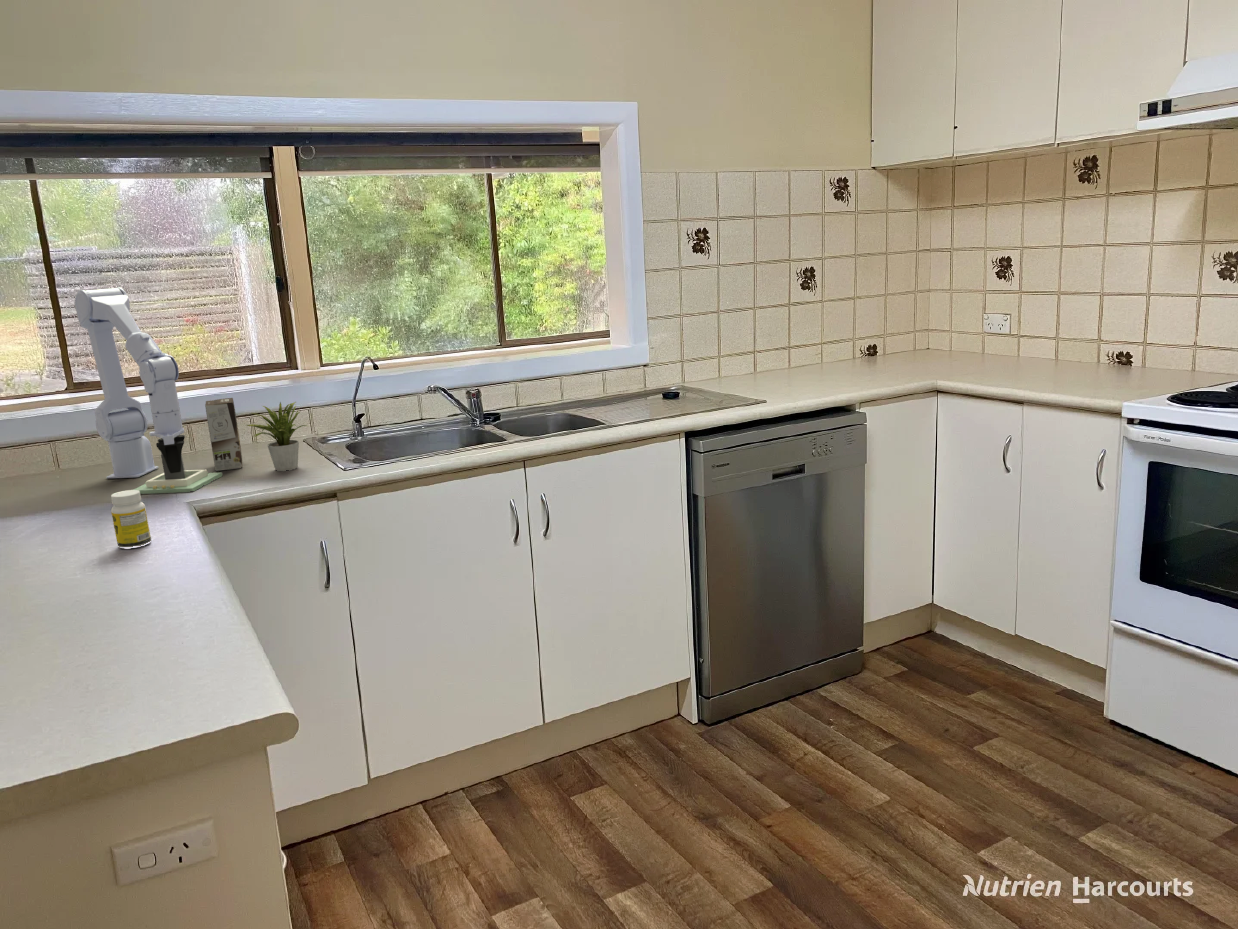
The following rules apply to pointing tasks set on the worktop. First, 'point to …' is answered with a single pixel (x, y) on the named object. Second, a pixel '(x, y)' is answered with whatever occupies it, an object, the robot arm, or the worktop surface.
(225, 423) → the coffee box
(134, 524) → the supplement bottle
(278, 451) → the house plant
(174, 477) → the plug block
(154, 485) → the socket board
